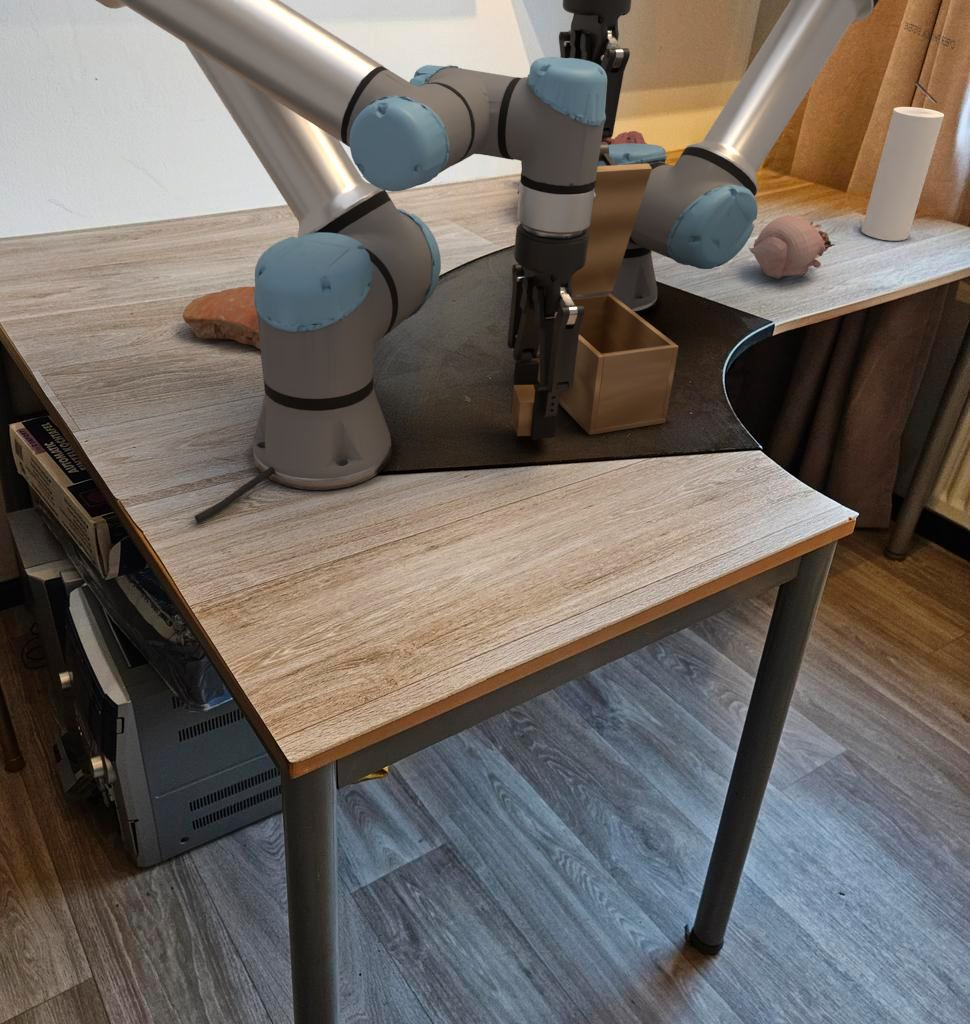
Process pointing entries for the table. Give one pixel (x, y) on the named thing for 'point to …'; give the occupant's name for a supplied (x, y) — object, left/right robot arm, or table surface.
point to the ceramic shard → (225, 316)
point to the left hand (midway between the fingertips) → (532, 424)
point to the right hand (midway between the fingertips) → (578, 191)
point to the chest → (618, 369)
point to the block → (522, 409)
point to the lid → (610, 222)
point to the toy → (790, 246)
